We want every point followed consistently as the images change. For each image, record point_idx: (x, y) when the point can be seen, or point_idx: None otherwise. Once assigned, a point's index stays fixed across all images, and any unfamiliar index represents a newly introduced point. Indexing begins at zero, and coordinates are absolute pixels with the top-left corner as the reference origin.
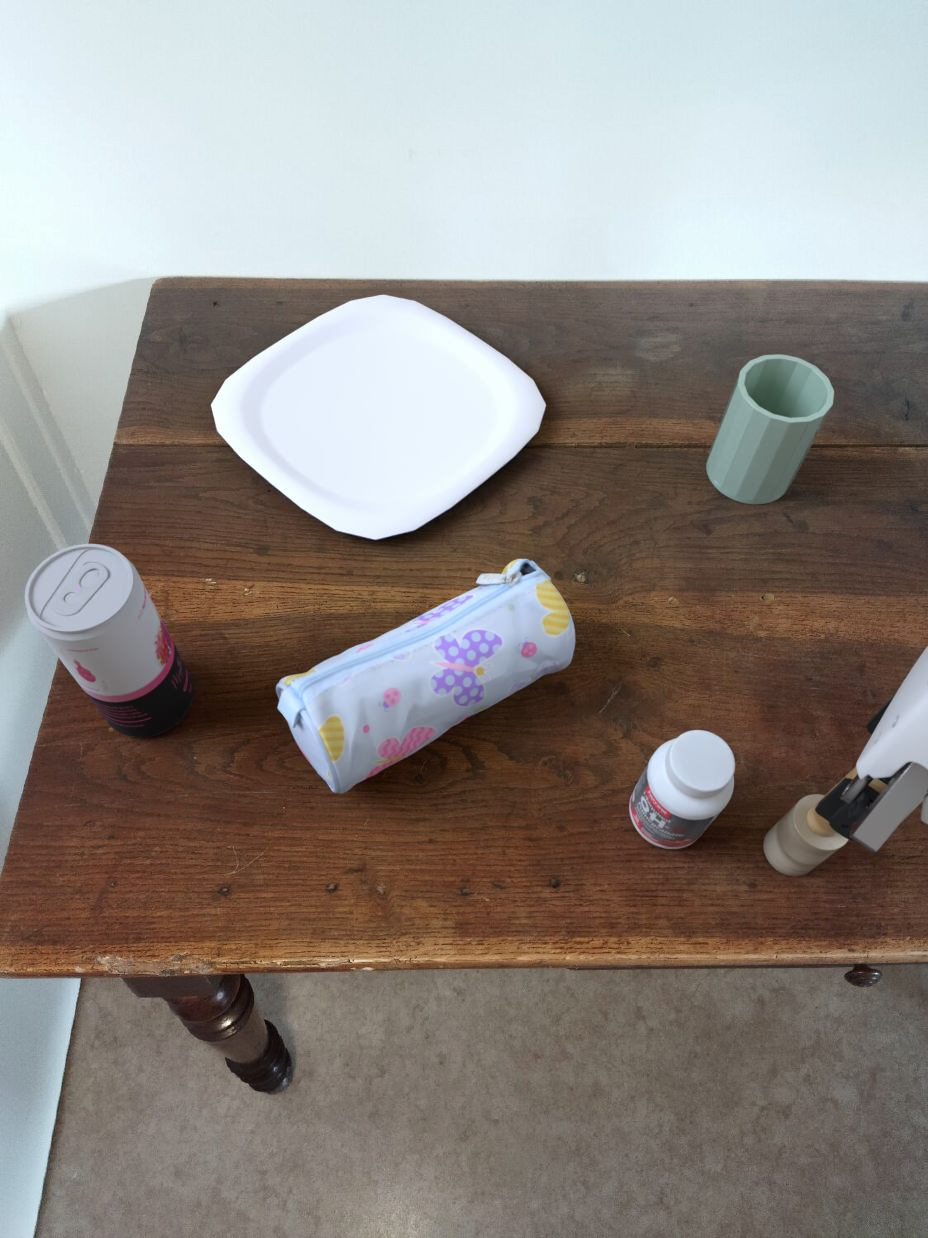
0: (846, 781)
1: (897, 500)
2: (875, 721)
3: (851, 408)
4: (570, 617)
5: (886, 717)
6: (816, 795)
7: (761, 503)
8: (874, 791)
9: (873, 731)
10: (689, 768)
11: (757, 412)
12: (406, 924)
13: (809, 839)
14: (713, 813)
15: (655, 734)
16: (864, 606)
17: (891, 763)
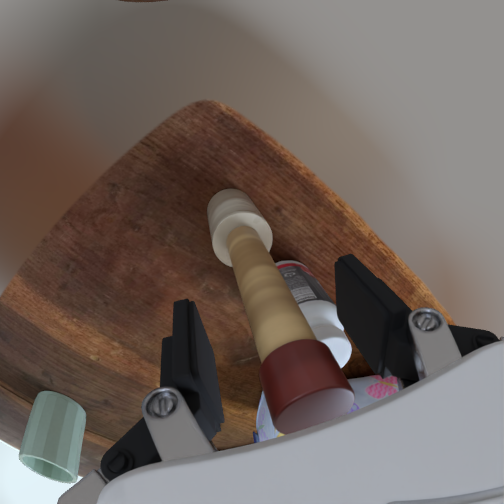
0: (387, 375)
1: None
2: (216, 374)
3: None
4: (276, 435)
5: None
6: (225, 263)
7: (63, 395)
8: (406, 368)
9: (212, 353)
10: (339, 358)
11: (72, 472)
12: (421, 304)
13: (268, 236)
14: (324, 304)
15: (243, 329)
16: (34, 317)
17: None
